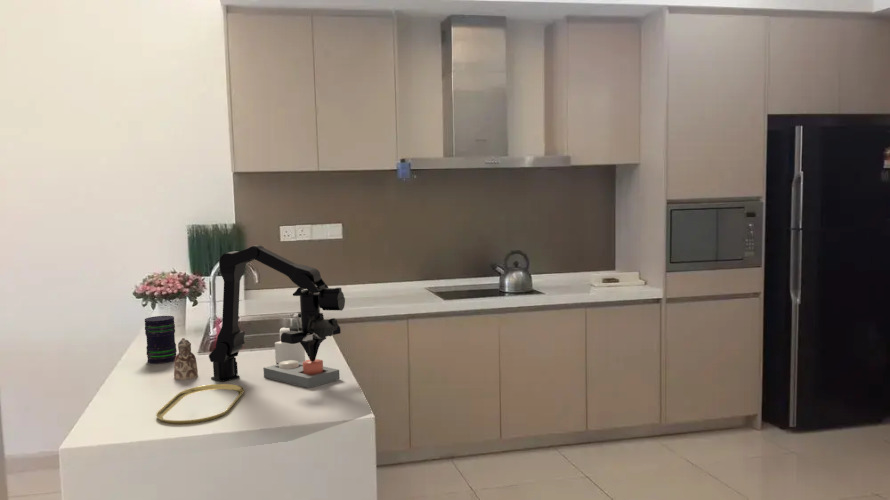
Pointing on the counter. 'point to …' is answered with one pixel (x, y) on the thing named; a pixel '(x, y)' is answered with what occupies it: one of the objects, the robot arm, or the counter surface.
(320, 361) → the red button
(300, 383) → the grey holder tray
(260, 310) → the counter surface
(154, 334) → the storage jar
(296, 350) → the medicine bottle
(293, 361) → the white button
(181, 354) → the figurine
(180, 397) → the brass oval bangle
